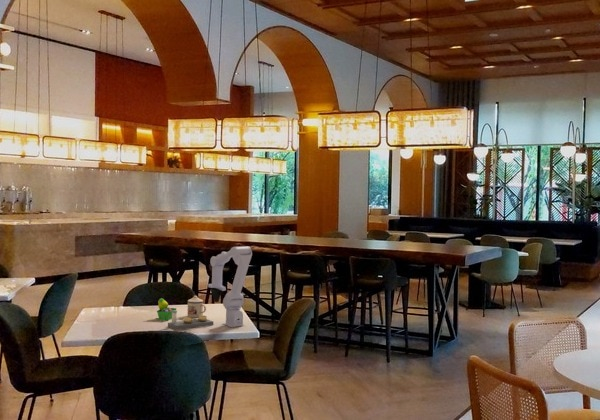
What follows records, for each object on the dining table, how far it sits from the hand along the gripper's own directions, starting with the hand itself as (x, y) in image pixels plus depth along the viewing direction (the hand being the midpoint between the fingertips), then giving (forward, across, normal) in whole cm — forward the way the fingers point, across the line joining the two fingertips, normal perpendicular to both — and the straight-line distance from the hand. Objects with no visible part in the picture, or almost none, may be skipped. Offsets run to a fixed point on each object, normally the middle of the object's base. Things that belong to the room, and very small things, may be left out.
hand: (216, 301), depth 374 cm
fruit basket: (+10, -17, -22) cm, 30 cm away
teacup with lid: (+10, -13, -4) cm, 17 cm away
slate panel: (+10, +7, -21) cm, 24 cm away
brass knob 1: (+10, +8, -23) cm, 26 cm away
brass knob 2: (+10, +8, -14) cm, 19 cm away
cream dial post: (+8, +4, -30) cm, 31 cm away
